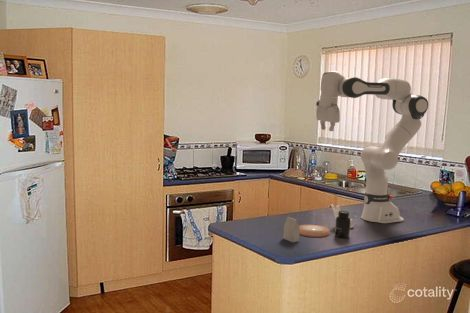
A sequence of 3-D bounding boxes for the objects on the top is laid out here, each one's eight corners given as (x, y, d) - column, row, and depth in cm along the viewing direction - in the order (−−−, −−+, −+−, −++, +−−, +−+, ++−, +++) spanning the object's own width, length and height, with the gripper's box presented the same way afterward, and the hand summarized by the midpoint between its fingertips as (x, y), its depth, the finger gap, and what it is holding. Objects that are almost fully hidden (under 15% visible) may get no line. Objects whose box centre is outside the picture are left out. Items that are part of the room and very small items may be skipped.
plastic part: (353, 227, 252) (355, 204, 250) (340, 230, 246) (342, 207, 244) (342, 223, 257) (343, 201, 256) (329, 226, 251) (330, 204, 250)
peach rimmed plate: (321, 226, 250) (321, 223, 250) (335, 236, 235) (335, 232, 234) (291, 228, 246) (291, 225, 246) (303, 237, 230) (303, 234, 230)
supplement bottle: (334, 237, 232) (336, 212, 230) (334, 233, 238) (335, 209, 237) (349, 239, 230) (351, 213, 229) (349, 235, 237) (350, 210, 236)
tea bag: (292, 242, 223) (293, 220, 222) (283, 238, 228) (284, 217, 227) (299, 241, 225) (300, 219, 224) (289, 237, 231) (290, 216, 229)
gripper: (343, 104, 244) (342, 132, 245) (325, 102, 263) (324, 128, 265) (332, 103, 242) (330, 132, 244) (314, 102, 261) (313, 128, 263)
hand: (327, 130), depth 254 cm, fingers open, 8 cm apart
